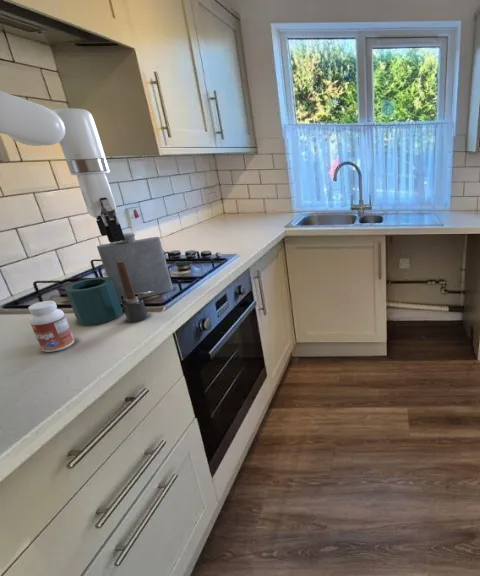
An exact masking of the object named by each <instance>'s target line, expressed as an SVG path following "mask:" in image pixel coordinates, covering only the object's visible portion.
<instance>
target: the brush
mask: <svg viewBox="0 0 480 576" xmlns="http://www.w3.org/2000/svg"><path fill="white" fill-rule="evenodd" d="M115 264H116V267H117V270H118V273H119V276H120V279H121V282H122V285H123V288H124V291H125V294H126V299H125V300H126V301H123V302H122V304H121V307H122V310H123V312H124V315H125V317H126V321H127V322H128V323H139V322H142V321H144V320H146V319H147V318H148V317H149V316H148V315H149V314H148V312H147V308H146V305H145V302H144V299H143V298H139V299H138V297H137V296H135V293H134V290H133V287H132V284H131V281H130V277H129V274H128V271H127V268H126V265H125V262H124V261H117V262H115Z"/></svg>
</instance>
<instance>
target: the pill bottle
mask: <svg viewBox="0 0 480 576" xmlns="http://www.w3.org/2000/svg"><path fill="white" fill-rule="evenodd" d="M27 308H28V311H29V313H30V315H31V316H30V317H29V319H28V321H29V325H30V326H31V329H32V332H33V334H34V336H35V338H36V340H37V342H38V344H39V347H40V349H41V351H43V352H45V353H53V352H58V351H62V350H65V349H68V348H69V347H70V346H72V345H73V344H74V343H75V337H74V335H73V332H72V330H71V327H70V324H69V322H68V320H67V317H66V314H65V312H64V311H63V310H61V309H59V308H58V306H57V303H56V302H55V300H44V301H38V302H36V303H33V304H31V305H30V306H28V307H27Z"/></svg>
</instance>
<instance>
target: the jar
mask: <svg viewBox="0 0 480 576" xmlns="http://www.w3.org/2000/svg"><path fill="white" fill-rule="evenodd" d="M64 290H65V293H66V296H67V299H68V300H69V303H70V306H71V308H72V311H73V313H74V316H75V318H76V321H77V322H78V324H79V325H81V326H96V325H100V324H104V323H109V322H110V321H113V320H115V319H117V318H119V317H120V316H121V315H122V314H123V312H124V310H123V306H122V304H121V302H120V301H119V298H118V295H117V292H116V289H115V286H114V283H113V280H112V279H111V278H108V277H107V276H98V277H90V278H86V279H81V280H79V281H75V282H72V283H71V284H68V285H67V286H65V288H64Z"/></svg>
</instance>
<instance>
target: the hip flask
mask: <svg viewBox="0 0 480 576" xmlns="http://www.w3.org/2000/svg"><path fill="white" fill-rule="evenodd" d="M123 235H124V238H125V240H123V241H118V242H112V243H111V242H109V243H103V244H99V245H97V246H96V248H97V251H98V254H99V258H100V260H101V263H102V266H103V269H104V272H105V275H106V277H108V278H111V279H112V280H113V283H114V286H115V289H116V292H117V295H118V298H119V301H120V303H121V302H122V303H123V302H125V301H126V300H125V299H126V294H125V291H124V288H123V285H122V282H121V279H120V276H119V273H118V270H117V267H116V264H115V262H117V261H124V262H125V265H126V268H127V271H128V274H129V277H130V281H131V284H132V287H133V290H134V293H141V292H148V291H155V292H152V293H148V294H143V295H138V296H137V297H138V299H143V298H148V297H152V296H156V295H160V294H164V293H168V292H171V291H173V290H174V287H173V282H172V280H171V275H170V271H169V267H168V264H167V260H166V257H165V252H164V249H163V245H162V241H161V238H160V237H159V236H151V237H147V238H141V239H136V238H135V237H136V234H135V233H134V232H127V233H123ZM121 296H123V297H124V298H123V300H122V299H121Z"/></svg>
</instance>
